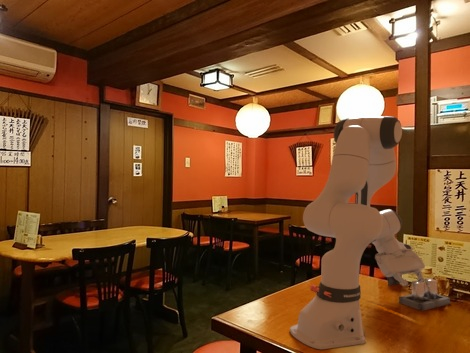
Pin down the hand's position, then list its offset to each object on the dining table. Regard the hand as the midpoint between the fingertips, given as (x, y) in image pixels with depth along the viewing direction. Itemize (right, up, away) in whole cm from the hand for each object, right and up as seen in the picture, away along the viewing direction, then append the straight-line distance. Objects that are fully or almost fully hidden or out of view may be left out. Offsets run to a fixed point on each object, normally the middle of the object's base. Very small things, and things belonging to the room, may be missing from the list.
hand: (414, 283), depth 125 cm
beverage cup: (+4, -9, +25) cm, 27 cm away
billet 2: (+7, -7, +2) cm, 11 cm away
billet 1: (+1, -7, -1) cm, 7 cm away
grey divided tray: (+4, -8, +1) cm, 9 cm away
